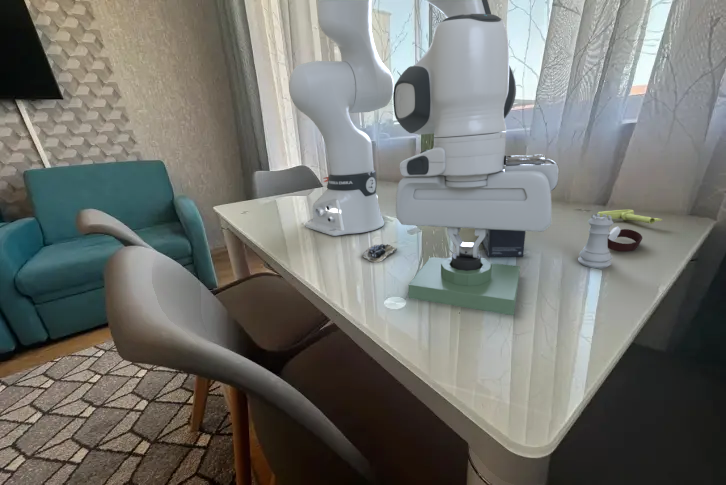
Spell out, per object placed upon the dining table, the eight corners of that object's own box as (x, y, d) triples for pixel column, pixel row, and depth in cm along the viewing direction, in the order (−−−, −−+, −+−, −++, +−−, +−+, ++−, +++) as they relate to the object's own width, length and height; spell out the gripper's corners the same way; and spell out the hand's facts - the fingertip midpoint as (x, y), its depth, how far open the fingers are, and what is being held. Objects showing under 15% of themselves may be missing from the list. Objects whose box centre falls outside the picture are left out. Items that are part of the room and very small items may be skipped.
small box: (526, 257, 57) (531, 199, 53) (487, 257, 58) (489, 201, 55) (512, 238, 67) (516, 187, 63) (479, 238, 68) (481, 189, 65)
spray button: (448, 270, 46) (448, 259, 46) (455, 260, 50) (455, 249, 49) (477, 274, 45) (478, 262, 44) (482, 263, 48) (482, 252, 47)
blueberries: (399, 247, 67) (398, 239, 67) (393, 263, 60) (392, 253, 59) (368, 247, 69) (367, 239, 68) (358, 262, 62) (357, 253, 61)
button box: (408, 298, 47) (407, 273, 46) (430, 268, 56) (430, 247, 55) (513, 315, 41) (515, 287, 39) (519, 279, 50) (521, 255, 48)
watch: (618, 239, 61) (621, 220, 60) (648, 245, 57) (652, 226, 56) (594, 248, 58) (597, 229, 57) (625, 256, 54) (628, 235, 53)
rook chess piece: (571, 262, 53) (577, 215, 51) (589, 256, 55) (596, 211, 52) (599, 271, 50) (607, 221, 47) (617, 265, 51) (626, 216, 48)
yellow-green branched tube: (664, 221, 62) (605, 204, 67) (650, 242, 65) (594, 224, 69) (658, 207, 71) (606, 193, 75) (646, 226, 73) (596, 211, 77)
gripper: (560, 151, 40) (549, 254, 44) (404, 159, 49) (408, 243, 54) (562, 156, 35) (550, 273, 39) (388, 164, 44) (394, 257, 49)
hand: (467, 256), depth 46 cm, fingers closed, pressing on spray button
